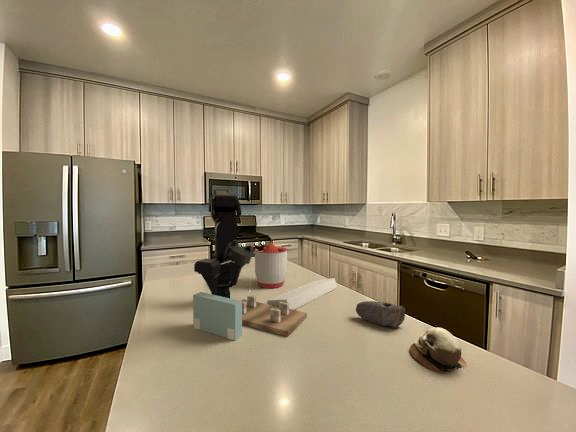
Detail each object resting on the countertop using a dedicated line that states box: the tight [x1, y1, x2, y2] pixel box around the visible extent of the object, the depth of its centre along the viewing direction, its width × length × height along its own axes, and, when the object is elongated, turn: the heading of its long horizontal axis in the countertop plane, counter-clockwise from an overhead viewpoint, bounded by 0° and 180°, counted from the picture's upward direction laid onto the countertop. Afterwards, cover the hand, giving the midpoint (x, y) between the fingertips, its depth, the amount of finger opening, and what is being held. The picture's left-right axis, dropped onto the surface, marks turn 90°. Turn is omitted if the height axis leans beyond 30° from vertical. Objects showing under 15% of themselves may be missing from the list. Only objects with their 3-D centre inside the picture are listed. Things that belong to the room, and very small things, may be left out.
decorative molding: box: [266, 277, 338, 310], centre depth 102 cm, size 34×5×10 cm
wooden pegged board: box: [240, 294, 308, 338], centre depth 82 cm, size 26×14×5 cm, turn 63°
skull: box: [409, 327, 468, 375], centre depth 61 cm, size 12×10×10 cm
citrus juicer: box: [253, 242, 288, 289], centre depth 116 cm, size 16×17×20 cm
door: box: [192, 291, 243, 341], centre depth 72 cm, size 16×3×10 cm, turn 63°
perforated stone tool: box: [355, 300, 406, 329], centre depth 78 cm, size 15×5×7 cm, turn 54°
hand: (224, 289), depth 73 cm, fingers open, 9 cm apart
